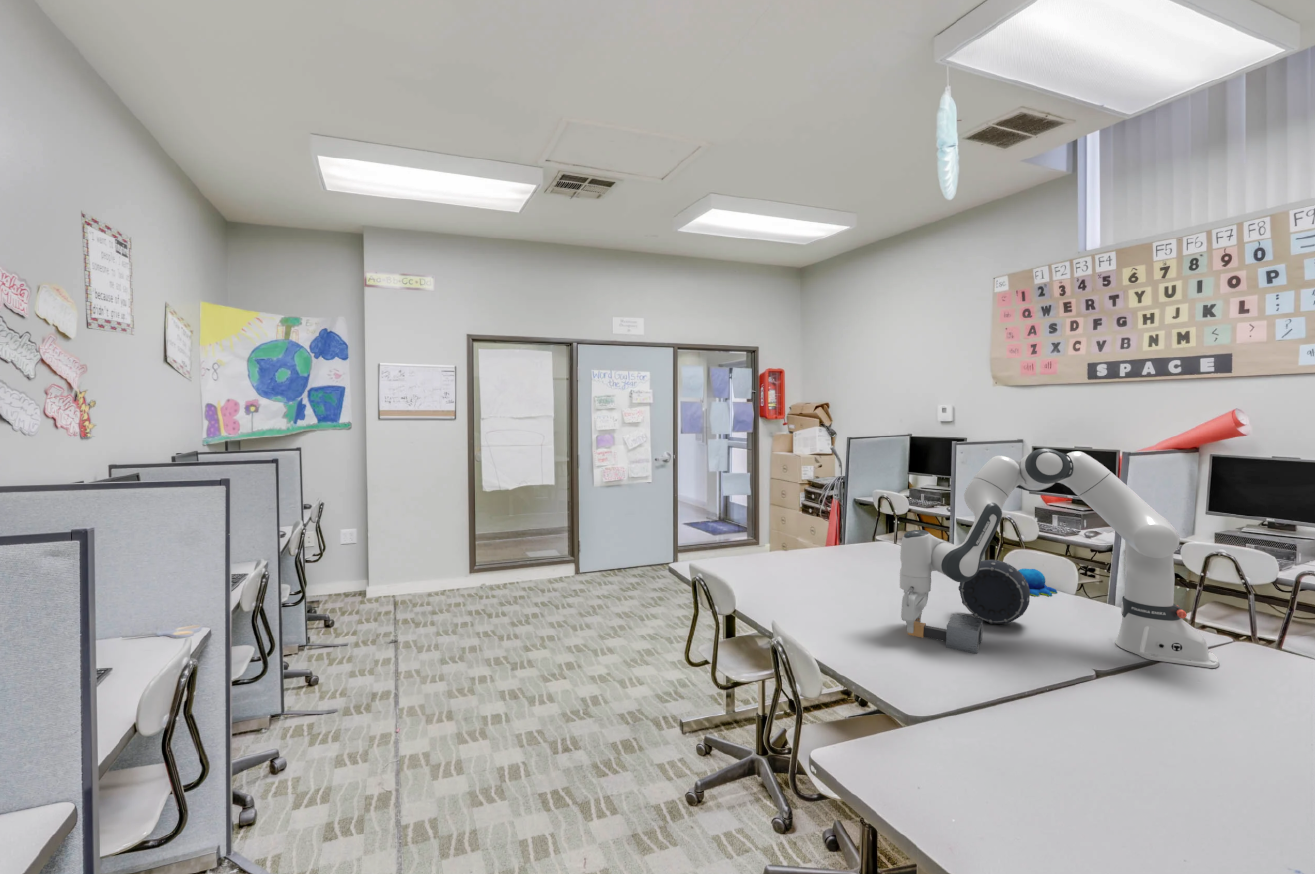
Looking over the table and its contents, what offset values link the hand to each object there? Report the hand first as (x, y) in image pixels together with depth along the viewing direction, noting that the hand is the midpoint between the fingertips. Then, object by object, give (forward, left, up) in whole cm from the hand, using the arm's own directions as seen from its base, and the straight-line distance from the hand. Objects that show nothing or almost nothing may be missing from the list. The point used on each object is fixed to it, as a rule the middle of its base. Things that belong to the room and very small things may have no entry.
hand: (914, 627), depth 186 cm
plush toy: (-27, -73, -2) cm, 78 cm away
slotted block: (-14, 0, -2) cm, 14 cm away
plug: (-8, 0, -2) cm, 8 cm away
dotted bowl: (-19, -26, -2) cm, 32 cm away
